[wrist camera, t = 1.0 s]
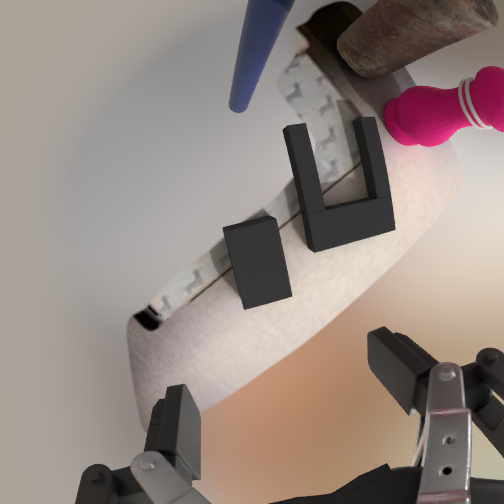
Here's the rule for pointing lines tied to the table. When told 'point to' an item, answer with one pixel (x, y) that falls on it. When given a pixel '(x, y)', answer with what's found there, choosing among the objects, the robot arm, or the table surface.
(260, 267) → the black block
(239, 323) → the table surface
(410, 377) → the robot arm
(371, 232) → the black u-shaped piece
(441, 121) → the pepper mill
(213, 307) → the table surface
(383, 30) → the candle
